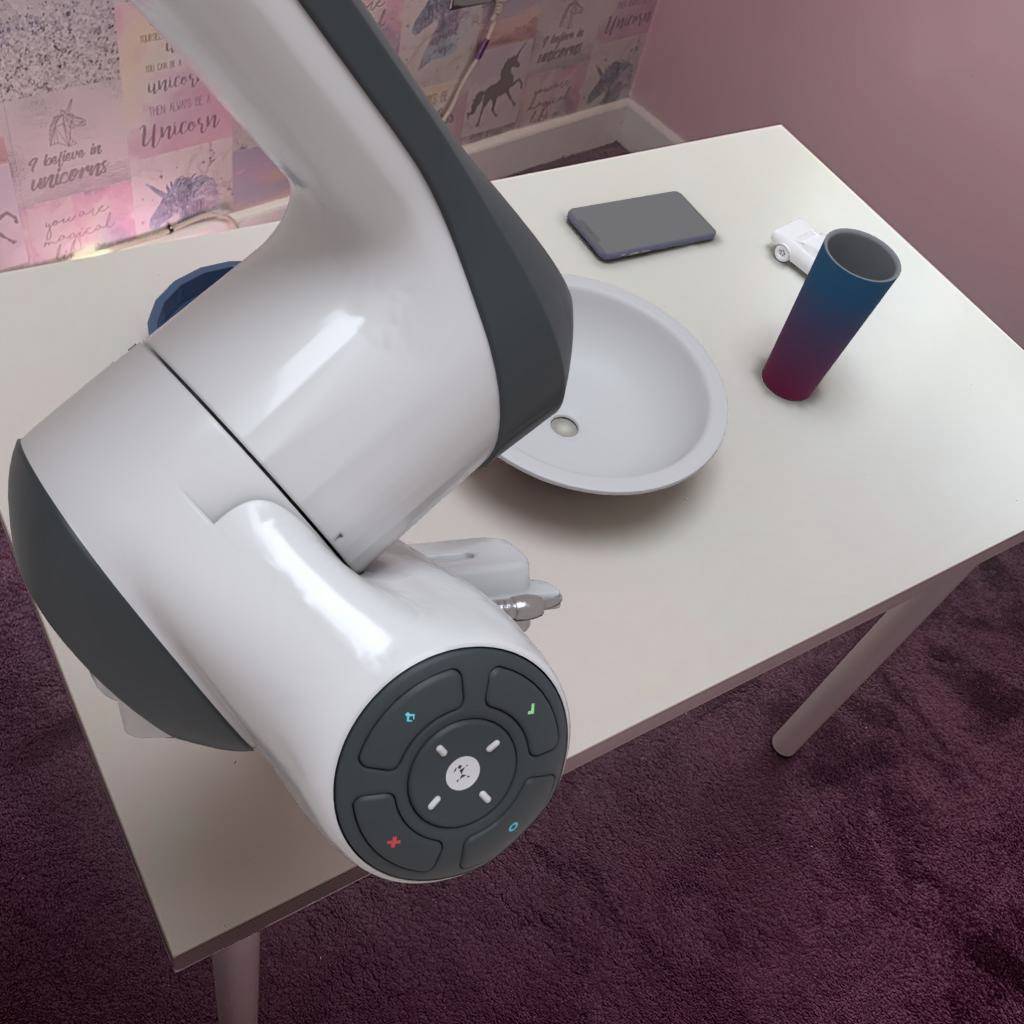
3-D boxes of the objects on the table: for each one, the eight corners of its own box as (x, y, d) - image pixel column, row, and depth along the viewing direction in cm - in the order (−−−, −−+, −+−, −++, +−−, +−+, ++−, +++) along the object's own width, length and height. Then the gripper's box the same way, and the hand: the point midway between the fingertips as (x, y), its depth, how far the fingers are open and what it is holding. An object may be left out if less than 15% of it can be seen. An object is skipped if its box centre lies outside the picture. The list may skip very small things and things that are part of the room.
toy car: (845, 316, 107) (861, 291, 105) (759, 246, 112) (772, 220, 109) (875, 299, 110) (891, 274, 108) (790, 232, 114) (803, 206, 112)
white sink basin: (396, 330, 91) (407, 270, 86) (647, 327, 99) (671, 272, 94) (456, 556, 78) (474, 501, 73) (741, 533, 86) (774, 482, 81)
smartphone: (720, 233, 110) (605, 256, 103) (716, 240, 110) (602, 264, 103) (678, 189, 113) (564, 208, 106) (675, 196, 114) (562, 216, 107)
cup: (739, 374, 98) (809, 245, 87) (777, 345, 102) (849, 218, 90) (797, 419, 96) (877, 293, 85) (834, 387, 100) (915, 263, 88)
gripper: (576, 533, 46) (475, 496, 59) (67, 581, 39) (78, 527, 52) (579, 674, 47) (479, 607, 60) (82, 745, 40) (90, 652, 53)
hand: (289, 570), depth 56 cm, fingers closed on block, 4 cm apart
